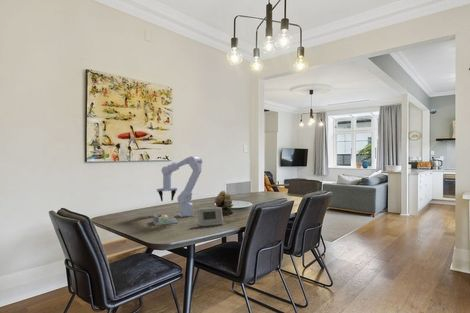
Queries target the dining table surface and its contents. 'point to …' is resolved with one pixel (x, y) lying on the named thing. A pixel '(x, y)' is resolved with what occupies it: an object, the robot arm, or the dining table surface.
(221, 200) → the brown bushy plant
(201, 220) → the digital clock
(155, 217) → the gauge bench
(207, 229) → the dining table surface
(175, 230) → the dining table surface
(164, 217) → the gauge sled
